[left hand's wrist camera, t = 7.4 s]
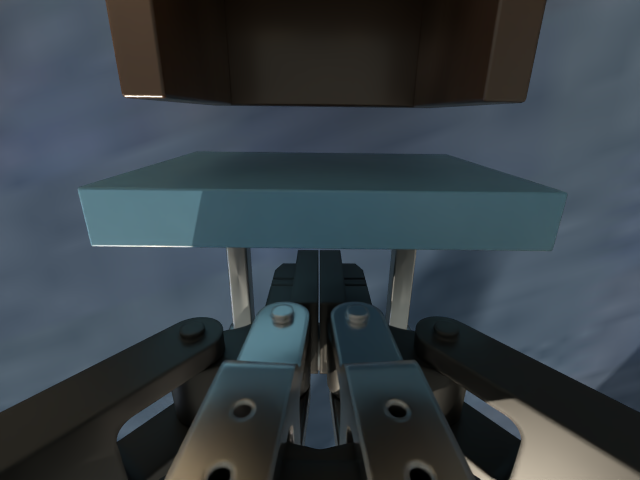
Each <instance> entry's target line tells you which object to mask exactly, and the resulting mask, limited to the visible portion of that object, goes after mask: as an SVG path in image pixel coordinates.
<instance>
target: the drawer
mask: <svg viewBox="0 0 640 480" xmlns="http://www.w3.org/2000/svg"><path fill="white" fill-rule="evenodd" d="M105 1H106V6H107V12H108V17H109V23H110V29H111V34H112V40H113V46H114V51H115V57H116V63H117V68H118V74H119V80H120V85H121V91H122V95H123V96H124V97H126V98H133V99H145V100H157V101H168V102H180V103H192V104H204V105H217V106H300V107H383V108H439V107H456V106H474V105H491V104H509V103H522V102H524V101H525V100H526V97H527V92H528V87H529V82H530V77H531V73H532V68H533V63H534V58H535V53H536V48H537V44H538V39H539V34H540V29H541V24H542V19H543V14H544V10H545V5H546V0H105ZM78 193H79V197H80V201H81V205H82V209H83V213H84V217H85V222H86V226H87V230H88V234H89V238H90V242H91V245H92V246H132V247H225V248H226V252H227V263H228V274H229V284H230V295H231V306H232V317H233V323H232V324H231V326H230V328H229V330H231V329H236V328H240V327H244V326H246V325H249V324H251V323H253V322H254V319H255V313H254V297H253V282H252V267H251V251H250V248H318V249H392V252H391V263H390V274H389V284H388V295H387V306H386V317H385V319H386V322H387V324H389V325H391V326H394V327H397V328H401V329H406V330H411V329H410V327H409V326H408V316H409V308H410V299H411V291H412V283H413V274H414V266H415V258H416V250H505V251H552V250H553V246H554V243H555V239H556V235H557V232H558V228H559V224H560V221H561V217H562V213H563V210H564V206H565V202H566V198H567V193H566V192H563V191H560V190H557V189H554V188H550V187H547V186H544V185H541V184H538V183H535V182H532V181H528V180H525V179H522V178H519V177H516V176H513V175H510V174H506V173H503V172H500V171H497V170H494V169H491V168H488V167H484V166H481V165H478V164H475V163H472V162H469V161H466V160H462V159H459V158H456V157H453V156H450V155H447V154H363V153H277V152H193V153H190V154H187V155H184V156H180V157H177V158H174V159H170V160H167V161H164V162H160V163H157V164H154V165H150V166H147V167H144V168H140V169H137V170H134V171H130V172H127V173H124V174H121V175H117V176H114V177H111V178H107V179H104V180H101V181H97V182H94V183H91V184H87V185H84V186H81V187H79V188H78ZM318 370H320V323H318Z"/></svg>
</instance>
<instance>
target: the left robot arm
mask: <svg viewBox="0 0 640 480" xmlns="http://www.w3.org/2000/svg"><path fill="white" fill-rule="evenodd" d="M311 374H318V250H298V254H297V260H296V264H282V265H281V266H280V267H278V268H277V269H276V270H275V273H274V277H273V280H272V284H271V287H270V291H269V295H268V298H267V302H266V306H265V307H263V308H262V309H261V310H260V311H259V312H258V313H257V315H256V317H255V319H254V322H253V323H251V324H249V325H246V326H244V327H240V328H236V329H231V330H226V331H223V327H222V324H221V323H220V322H219V321H217V320H215V319H212V318H207V317H197V318H191V319H187V320H184V321H181V322H179V323H177V324H175V325H173V326H171V327H169V328H167V329H165V330H163V331H161V332H159V333H157V334H155V335H153V336H151V337H149V338H147V339H145V340H143V341H141V342H139V343H137V344H135V345H133V346H131V347H129V348H127V349H125V350H123V351H121V352H119V353H117V354H115V355H113V356H111V357H109V358H107V359H105V360H103V361H101V362H100V363H98V364H96V365H94V366H92V367H90V368H88V369H86V370H84V371H82V372H80V373H78V374H76V375H74V376H72V377H70V378H68V379H66V380H64V381H62V382H60V383H58V384H56V385H54V386H52V387H50V388H48V389H46V390H44V391H42V392H40V393H38V394H36V395H34V396H32V397H30V398H28V399H26V400H24V401H22V402H20V403H18V404H16V405H14V406H12V407H10V408H8V409H6V410H4V411H2V412H0V480H640V412H638V411H636V410H634V409H632V408H630V407H628V406H626V405H624V404H622V403H620V402H618V401H616V400H614V399H612V398H610V397H608V396H606V395H604V394H602V393H600V392H598V391H596V390H594V389H592V388H590V387H588V386H586V385H584V384H582V383H580V382H578V381H576V380H574V379H572V378H570V377H568V376H566V375H564V374H562V373H560V372H558V371H556V370H554V369H552V368H550V367H548V366H546V365H544V364H542V363H540V362H538V361H537V360H535V359H533V358H531V357H529V356H527V355H525V354H523V353H521V352H519V351H517V350H515V349H513V348H511V347H509V346H507V345H505V344H503V343H501V342H499V341H497V340H495V339H493V338H491V337H489V336H487V335H485V334H483V333H481V332H479V331H477V330H475V329H473V328H471V327H469V326H467V325H465V324H463V323H461V322H459V321H457V320H454V319H451V318H446V317H428V318H424V319H422V320H420V321H419V322H418V323H417V325H416V330H415V331H411V330H406V329H401V328H397V327H394V326H391V325H389V324H387V322H386V319H385V317H384V315H383V313H382V312H381V311H380V310H379V309H378V308H377V307H375V306H373V305H372V303H371V299H370V295H369V291H368V288H367V284H366V280H365V276H364V273H363V270H362V269H361V268H360V267H359V266H357V265H356V264H342V260H341V253H340V250H320V374H327V383H328V387H329V389H330V406H331V413H332V421H333V429H334V437H335V445H336V446H334V447H330V448H326V449H314V448H310V447H306V446H304V445H305V437H306V429H307V421H308V413H309V406H310V376H311ZM466 390H468V391H469V392H471V393H472V394H474V395H475V396H477V397H478V398H480V399H481V400H483V401H484V402H486V403H488V404H489V405H491V406H492V407H494V408H495V409H497V410H498V411H500V412H501V413H503V414H504V415H506V416H507V417H509V418H510V419H511V420H512V421H513V422H514V423H515V425H516V426H517V428H518V429H519V432H520V434H521V440H519V439H518V438H516V437H515V436H513V435H512V434H510V433H509V432H508V431H506V430H505V429H503V428H502V427H500V426H499V425H497V424H496V423H494V422H493V421H491V420H490V419H489V418H487V417H486V416H484V415H483V414H481V413H480V412H478V411H477V410H475V409H474V408H473V407H471V406H470V405H468V404H467V403H465V402H464V397H465V392H466ZM171 391H172V395H173V400H174V403H173V404H172V405H170V406H169V407H167V408H166V409H165V410H163V411H162V412H160V413H159V414H157V415H156V416H154V417H153V418H151V419H150V420H149V421H147V422H146V423H144V424H143V425H141V426H140V427H138V428H137V429H135V430H134V431H132V432H131V433H130V434H128V435H127V436H125V437H124V438H122V439H121V440H119V441H118V442H117V435H118V433H119V431H120V429H121V427H122V426H123V425H124V424H125V423H126V421H128V420H129V419H130V418H131V417H133V416H134V415H136V414H137V413H139V412H140V411H142V410H143V409H145V408H146V407H148V406H149V405H151V404H152V403H154V402H156V401H157V400H159V399H160V398H162V397H163V396H165V395H166V394H168V393H169V392H171Z"/></svg>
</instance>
